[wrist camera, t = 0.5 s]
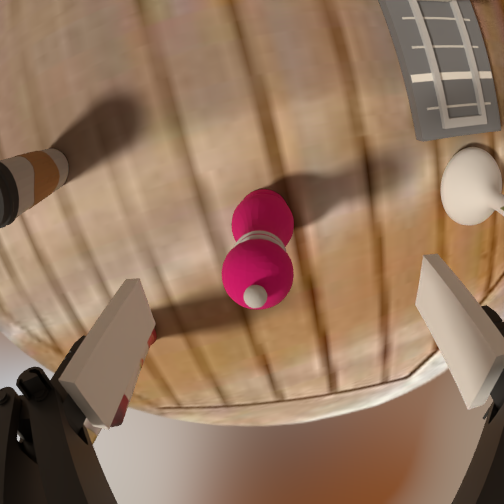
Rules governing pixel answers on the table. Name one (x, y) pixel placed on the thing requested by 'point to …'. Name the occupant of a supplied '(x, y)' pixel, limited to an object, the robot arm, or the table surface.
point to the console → (443, 67)
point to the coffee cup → (29, 181)
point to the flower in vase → (472, 187)
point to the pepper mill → (259, 251)
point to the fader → (437, 0)
